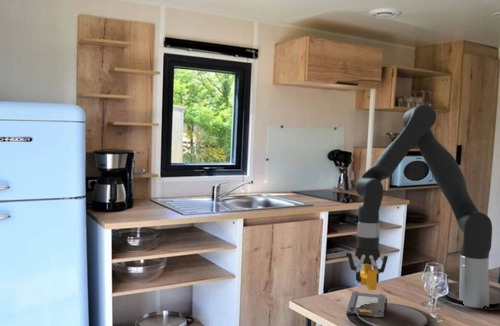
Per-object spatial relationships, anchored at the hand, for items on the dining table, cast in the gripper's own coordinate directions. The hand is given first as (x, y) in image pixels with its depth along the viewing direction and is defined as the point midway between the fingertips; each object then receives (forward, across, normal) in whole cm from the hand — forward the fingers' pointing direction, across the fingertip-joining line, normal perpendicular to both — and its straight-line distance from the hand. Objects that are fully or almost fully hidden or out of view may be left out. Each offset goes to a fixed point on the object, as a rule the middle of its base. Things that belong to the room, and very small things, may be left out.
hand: (367, 282), depth 164 cm
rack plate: (+8, 0, 0) cm, 8 cm away
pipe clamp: (+1, 0, 0) cm, 1 cm away
